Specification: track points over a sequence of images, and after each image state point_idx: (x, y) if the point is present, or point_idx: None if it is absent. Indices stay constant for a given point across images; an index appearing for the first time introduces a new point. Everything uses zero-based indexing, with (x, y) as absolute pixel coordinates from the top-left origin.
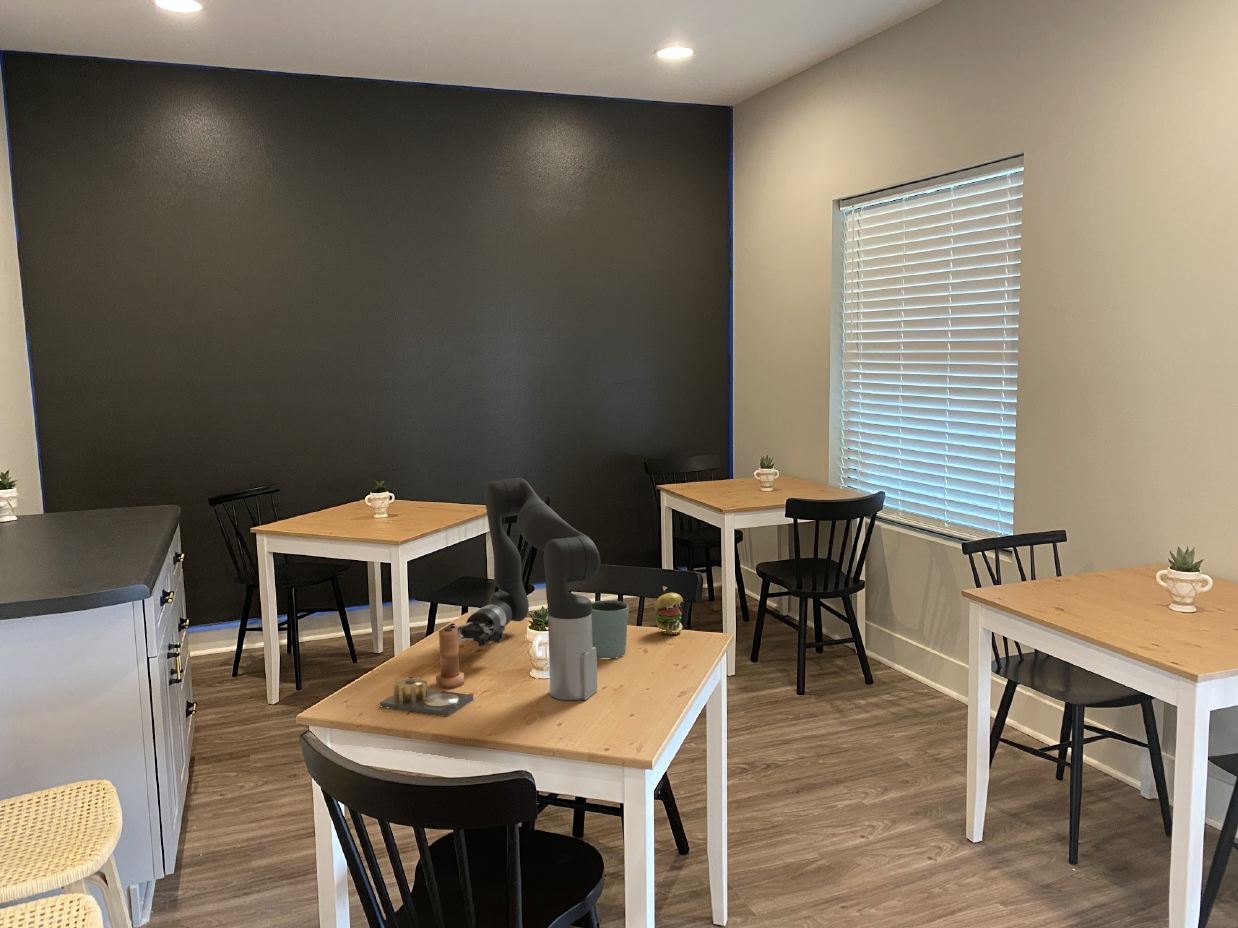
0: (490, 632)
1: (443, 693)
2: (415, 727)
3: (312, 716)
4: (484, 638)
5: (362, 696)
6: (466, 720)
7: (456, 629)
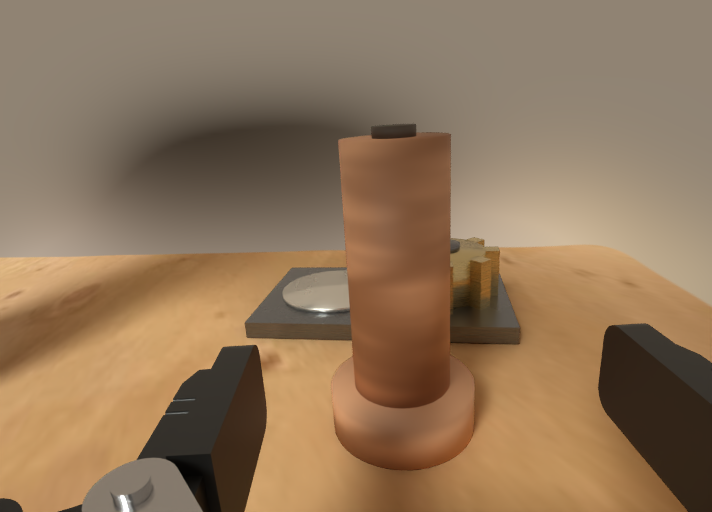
0: (98, 482)
1: (347, 307)
2: (342, 253)
3: (598, 245)
4: (197, 379)
5: (625, 303)
6: (241, 277)
7: (352, 142)
